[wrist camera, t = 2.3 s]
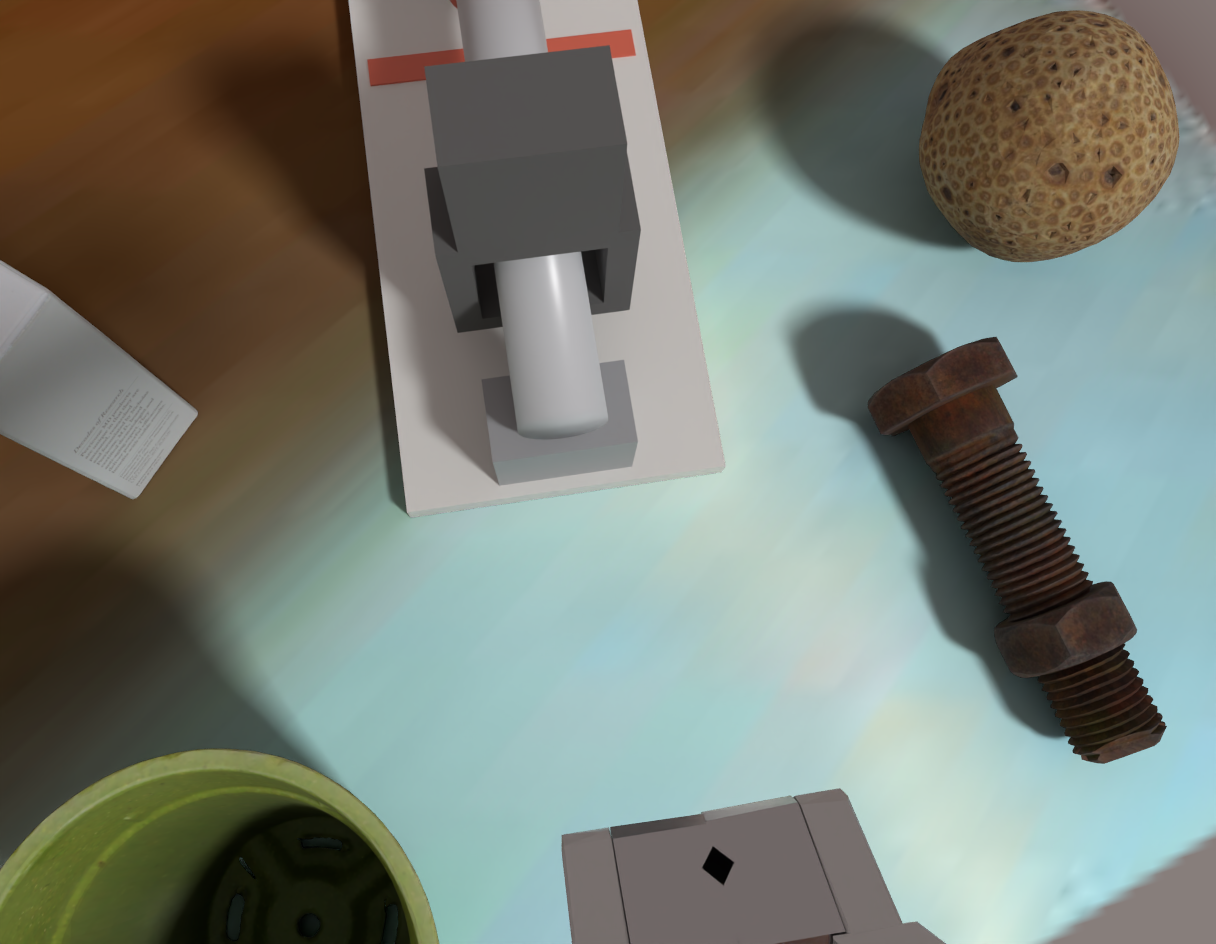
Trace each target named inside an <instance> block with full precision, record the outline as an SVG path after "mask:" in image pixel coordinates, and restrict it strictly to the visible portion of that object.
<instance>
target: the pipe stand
mask: <svg viewBox="0 0 1216 944" xmlns="http://www.w3.org/2000/svg"><path fill="white" fill-rule="evenodd" d="M348 1H349V9H350V18H351V27H352V36H353V44H354V53H355V62H356V71H357V79H358V88H359V97H360V106H361V114H362V123H363V132H364V141H365V149H366V158H367V167H368V176H369V184H370V193H371V202H372V211H373V219H374V228H375V237H376V246H377V254H378V263H379V272H380V281H381V289H382V298H383V307H384V316H385V324H386V333H387V342H388V351H389V359H390V368H391V377H392V386H393V394H394V403H395V412H396V421H397V430H398V438H399V447H400V456H401V465H402V473H403V482H404V491H405V500H406V508H407V513H408V514H409V516H410V517H411V518H413V517H420V516H427V515H434V514H440V513H447V512H454V511H461V510H468V509H475V508H481V507H488V506H495V505H502V504H509V503H516V502H522V501H529V500H536V499H543V498H550V497H557V496H564V495H570V494H577V493H584V492H591V491H598V490H605V489H611V488H618V487H625V486H632V485H639V484H646V483H652V482H659V481H666V480H673V479H680V478H687V477H693V476H700V475H707V474H714V473H721V472H722V471H723V470H724V468H725V466H726V465H725V460H724V454H723V449H722V444H721V439H720V433H719V428H718V423H717V418H716V412H715V407H714V402H713V397H712V391H711V386H710V381H709V375H708V370H707V365H706V360H705V354H704V349H703V344H702V339H701V333H700V328H699V323H698V318H697V312H696V307H695V302H694V297H693V291H692V286H691V281H690V276H689V270H688V265H687V260H686V254H685V249H684V244H683V239H682V233H681V228H680V223H679V218H678V212H677V207H676V202H675V197H674V191H673V186H672V181H671V176H670V170H669V165H668V160H667V154H666V149H665V144H664V139H663V133H662V128H661V123H660V118H659V112H658V107H657V102H656V97H655V91H654V86H653V81H652V76H651V70H650V65H649V60H648V55H647V49H646V44H645V39H644V33H643V28H642V23H641V18H640V12H639V7H638V2H637V0H348ZM607 45H610V50H611V56H612V61H613V67H614V72H615V78H616V83H617V89H618V95H619V100H620V106H621V111H622V117H623V122H624V128H625V133H626V139H627V155H628V160H629V166H630V171H631V177H632V182H633V188H634V193H635V199H636V204H637V210H638V216H639V221H640V227H641V233H640V240H639V247H638V254H637V261H636V268H635V275H634V282H633V289H632V296H631V303H630V310H626V311H618V312H611V313H603V314H596V315H591V310H590V304H589V297H588V291H587V285H586V279H585V273H584V267H583V261H582V255H581V252H573V253H565V254H558V255H550V256H542V257H534V258H527V259H519V260H511V261H504V262H496V263H494V269H495V276H496V283H497V290H498V297H499V304H500V311H501V318H502V325H503V327H499V328H491V329H484V330H476V331H469V332H462V333H457V329H456V326H455V322H454V319H453V315H452V312H451V308H450V305H449V301H448V298H447V295H446V291H445V288H444V284H443V281H442V277H441V274H440V270H439V267H438V264H437V260H436V257H435V250H434V242H433V234H432V226H431V219H430V211H429V203H428V195H427V188H426V180H425V172H424V168H431V167H437V160H436V152H435V144H434V137H433V129H432V122H431V114H430V106H429V99H428V91H427V84H426V76H425V69H424V66H433V65H442V64H450V63H459V62H468V61H476V60H485V59H494V58H502V57H511V56H520V55H528V54H537V53H546V52H555V51H563V50H572V49H581V48H589V47H598V46H607Z"/></svg>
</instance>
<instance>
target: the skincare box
mask: <svg viewBox="0 0 1216 944" xmlns="http://www.w3.org/2000/svg"><path fill="white" fill-rule="evenodd" d="M197 415H198V411H197V410H196V409H195V408H194V407H193V406H191V405H190V404H189V403H188V402H187V401H185V400H184V399H183V398H181V397H180V396H179V395H178V394H176V393H175V392H174V391H173V390H171V389H170V388H169V387H168V386H167V385H165V384H164V383H163V382H162V381H160V380H159V379H158V378H157V377H156V376H154V375H153V374H152V373H151V372H149V371H148V370H147V369H146V368H144V367H143V366H142V365H141V364H140V363H138V362H137V361H136V360H135V359H134V358H132V357H131V356H130V355H129V354H128V353H126V352H125V351H124V350H123V349H121V348H120V347H119V346H118V345H116V344H115V343H114V342H113V341H111V340H110V339H109V338H108V337H107V336H105V335H104V334H103V333H102V332H101V331H99V330H98V329H97V328H96V327H94V326H93V325H92V324H91V323H89V322H88V321H87V320H86V319H84V318H83V317H82V316H81V315H79V314H78V313H77V312H75V311H74V310H73V309H72V308H71V307H69V306H68V305H67V304H66V303H64V302H63V301H62V300H61V299H59V298H58V297H57V296H56V295H55V294H53V293H52V292H51V291H50V290H48V289H47V288H45V287H44V286H42V285H40V284H39V283H37V282H35V281H34V280H32V279H30V278H29V277H27V276H25V275H24V274H22V273H21V272H19V271H17V270H16V269H14V268H12V267H11V266H9V265H7V264H6V263H4V262H3V261H1V260H0V434H1V435H3V436H5V437H7V438H9V439H11V440H13V441H15V442H17V443H19V444H21V445H23V446H25V447H28V448H30V449H32V450H34V451H36V452H38V453H40V454H42V455H44V456H46V457H48V458H50V459H52V460H54V461H56V462H58V463H60V464H62V465H64V466H66V467H68V468H70V469H72V470H74V471H76V472H78V473H80V474H82V475H84V476H86V477H88V478H90V479H92V480H94V481H96V482H98V483H100V484H102V485H104V486H106V487H108V488H110V489H112V490H115V491H117V492H119V493H121V494H123V495H125V496H127V497H129V498H131V499H135V498H137V497H138V496H139V495H140V494H141V492H142V491H143V490H144V488H145V487H146V485H147V484H148V482H149V481H150V480H151V478H152V477H153V475H154V474H155V473H156V471H157V470H158V468H159V467H160V466H161V464H162V463H163V461H164V460H165V459H166V457H167V456H168V455H169V453H170V452H171V450H172V449H173V448H174V446H175V445H176V444H177V442H178V441H179V439H180V438H181V437H182V435H183V434H184V433H185V431H186V430H187V429H188V427H189V426H190V425H191V423H192V422H193V421H194V419H195V418H196V417H197Z"/></svg>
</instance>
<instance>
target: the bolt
mask: <svg viewBox="0 0 1216 944" xmlns="http://www.w3.org/2000/svg"><path fill="white" fill-rule="evenodd" d="M1015 378H1017V374H1016V372H1015V370H1014V369H1013V367H1012V365H1011V363H1010V361H1009V359H1008V357H1007V355H1006V353H1005V351H1004V349H1003V348H1002V346H1001V344H1000V342H999V340H998V339H997V337H991V338H985V339H981V340H978V341H975V342H972V343H968V344H965V345H963V346H960V347H957V348H955V349H953V350H951V351H949V352H947V353H945V354H942V355H940V356H938V357H936V358H934V359H932V360H930V361H928V362H926V363H924V364H922V365H920V366H918V367H916V368H914V369H912V370H910V371H908V372H907V373H905V374H903V375H901V376H899V377H897V378H895V379H893V380H891V381H890V382H889V383H887V384H886V385H885V386H883V387H882V388H881V389H880V390H878V391H877V392H876V393H874V395H873V396H872V397H871V398H870V399H869V401H868V409H869V411H870V413H871V415H872V417H873V419H874V421H875V423H876V425H877V427H878V429H879V431H880V433H881V434H883V435H891V436H895V435H897V434H900V433H902V432H905V431H907V430H910V432H911V434H912V436H913V438H914V440H915V442H916V444H917V446H918V448H919V450H920V452H921V454H922V456H923V458H924V460H925V462H926V464H928V465H929V466H930V467H931V469H932V471H933V472H935V473H937V476H936V478H937V479H938V480H941V481H944V482H943V483H942V484H941V485H940V486H941V488H946V489H948V490H947V491H946V492H945V493H944V494H945V496H949V497H952V498H951V500H950V501H949V502H948V503H949V504H952V505H956V507H955V508H954V509H953V512H955V513H959V514H960V515H959V516H958V518H957V520H958V521H964V523H963V525H962V526H961V529H966V530H969V531H968V532H967V534H966V535H965V537H968V538H972V541H971V542H970V545H971V546H977V548H976V549H975V551H974V554H979V555H981V556H980V558H979V560H978V562H981V563H985V565H984V566H983V568H982V570H983V571H988V572H989V574H988V575H987V577H986V578H987V579H990V580H994V581H993V582H992V584H991V587H992V588H997V591H996V593H995V595H996V596H1000V597H1002V598H1001V600H1000V602H999V604H1002V605H1005V606H1006V607H1005V609H1004V611H1003V612H1004V613H1008V614H1010V616H1009V618H1007V619H1006V620H1004V621H1002V622H1001V623H999V624H998V625H997V626H996V627H995V628H994V635H995V640H996V644H997V646H998V648H999V650H1000V652H1001V654H1002V656H1003V658H1004V660H1005V662H1006V664H1007V666H1008V668H1009V670H1010V672H1011V673H1013V674H1014V675H1016V676H1018V677H1021V678H1029V677H1035V676H1039V678H1038V682H1039V683H1044V686H1043V688H1042V690H1043V691H1045V692H1048V695H1047V697H1046V698H1047V700H1052V701H1053V702H1052V704H1051V708H1053V709H1057V711H1056V714H1055V717H1058V718H1062V719H1061V722H1060V726H1062V727H1065V728H1066V730H1065V732H1064V734H1065V736H1069V737H1070V739H1069V741H1068V743H1069V744H1070V745H1074V746H1075V747H1074V749H1073V753H1075V754H1078V755H1081V758H1082V760H1086V761H1090V762H1094V763H1103V764H1105V763H1107V762H1110V761H1113V760H1116V759H1119V758H1122V757H1125V756H1128V755H1130V754H1133V753H1136V752H1139V751H1141V750H1144V749H1147V748H1149V747H1152V746H1155V745H1156V744H1157V743H1158V742H1160V740H1161V738H1162V735H1163V733H1164V731H1165V729H1166V727H1167V726H1165V722H1162V721H1161V720H1162V717H1163V716H1162V715H1161V714H1160V713H1158V712H1157V706H1155V705H1153V704H1151V703H1152V701H1153V698H1152V697H1151V696H1149V695H1147V693H1148V688H1146V687H1144V686H1142V684H1143V679H1142V678H1139V677H1137V675H1138V673H1139V671H1138V670H1137V669H1135V668H1133V665H1134V661H1132V660H1130V659H1127V658H1128V656H1129V654H1130V653H1129V652H1128V651H1126V650H1123V648H1124V646H1125V644H1124V643H1125V642H1127V641H1128V640H1130V639H1131V638H1133V636H1134V635H1135V634H1136V633H1137V629H1136V626H1135V624H1134V622H1133V620H1132V618H1131V616H1130V614H1129V612H1128V610H1127V608H1126V606H1125V605H1124V603H1123V601H1122V599H1121V597H1120V595H1119V593H1118V591H1117V589H1116V587H1115V586H1114V584H1113V583H1112V582H1100V583H1097V584H1093V585H1092V583H1093V581H1090V580H1086V578H1087V576H1088V574H1089V573H1088V572H1084V571H1081V570H1082V568H1083V566H1084V564H1083V563H1078V562H1077V561H1078V559H1079V555H1077V554H1073V551H1074V549H1075V546H1072V545H1068V543H1069V541H1070V539H1071V538H1070V537H1064V536H1063V535H1064V533H1065V532H1066V529H1064V528H1058V527H1059V525H1060V524H1061V522H1062V521H1061V520H1055V519H1054V518H1055V516H1056V515H1057V512H1056V511H1050V509H1051V507H1052V506H1053V504H1051V503H1045V502H1046V500H1047V498H1048V496H1047V495H1040V494H1041V492H1042V490H1043V487H1038V486H1036V485H1037V483H1038V481H1039V478H1032V476H1033V475H1034V473H1035V470H1034V469H1028V467H1029V466H1030V464H1031V461H1024V459H1025V457H1026V455H1027V453H1026V452H1019V451H1020V450H1021V448H1022V444H1015V443H1016V441H1017V439H1018V436H1017V434H1016V432H1015V430H1014V423H1013V421H1012V419H1011V417H1010V415H1009V413H1008V411H1007V409H1006V407H1005V405H1004V403H1003V401H1002V399H1001V397H1000V395H999V393H998V391H997V389H996V388H998V387H1000V386H1002V385H1004V384H1005V383H1007V382H1009V381H1011V380H1013V379H1015Z"/></svg>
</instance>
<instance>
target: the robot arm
mask: <svg viewBox="0 0 1216 944" xmlns="http://www.w3.org/2000/svg"><path fill="white" fill-rule="evenodd" d="M610 831H611V834H610ZM562 858H563V867H564V876H565V885H566V893H567V902H568V911H569V920H570V928H571V937H572V944H946V943H944V942H943V941H942V940H940V939H939V938H938V937H936V936H935V935H934V934H933V933H931V932H930V931H929V930H927V929H926V928H925V927H923V926H922V925H921V924H920V923H918V922H909V923H902V921H901V919H900V916H899V914H898V912H897V909H896V907H895V905H894V902H893V900H892V898H891V895H890V893H889V891H888V889H887V886H886V884H885V882H884V879H883V877H882V875H881V872H880V870H879V868H878V865H877V863H876V861H875V858H874V856H873V854H872V851H871V849H870V847H869V844H868V842H867V840H866V837H865V835H864V833H863V831H862V828H861V826H860V824H859V821H858V819H857V817H856V814H855V812H854V810H853V807H852V805H851V803H850V800H849V798H848V796H847V795H846V794H845V793H844V792H843V791H842V790H841V789H840V788H839V789H832V790H827V791H821V792H815V793H809V794H804V795H798V796H794V797H792V796H786V797H780V798H775V799H770V800H764V801H759V802H753V803H748V804H743V805H737V806H732V807H726V808H721V809H716V810H710V811H705V812H701V814H698V815H691V816H684V817H677V818H670V819H663V820H656V821H649V822H642V823H635V824H628V825H621V826H614V827H610V830H609V827H608V828H602V829H596V830H590V831H583V832H577V833H571V834H564V835H562Z"/></svg>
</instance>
